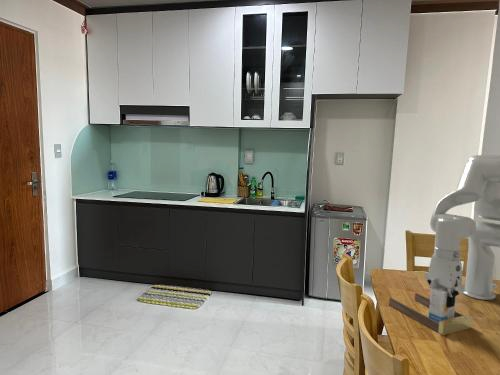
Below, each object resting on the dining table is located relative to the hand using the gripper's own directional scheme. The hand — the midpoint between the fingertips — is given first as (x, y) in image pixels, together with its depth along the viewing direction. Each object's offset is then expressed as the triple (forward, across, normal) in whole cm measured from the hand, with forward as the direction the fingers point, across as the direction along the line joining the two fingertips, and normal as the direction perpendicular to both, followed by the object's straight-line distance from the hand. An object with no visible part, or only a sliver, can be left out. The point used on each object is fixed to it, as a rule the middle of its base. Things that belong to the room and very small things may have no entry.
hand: (442, 302), depth 122 cm
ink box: (+7, 0, 0) cm, 7 cm away
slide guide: (+7, +5, 0) cm, 9 cm away
